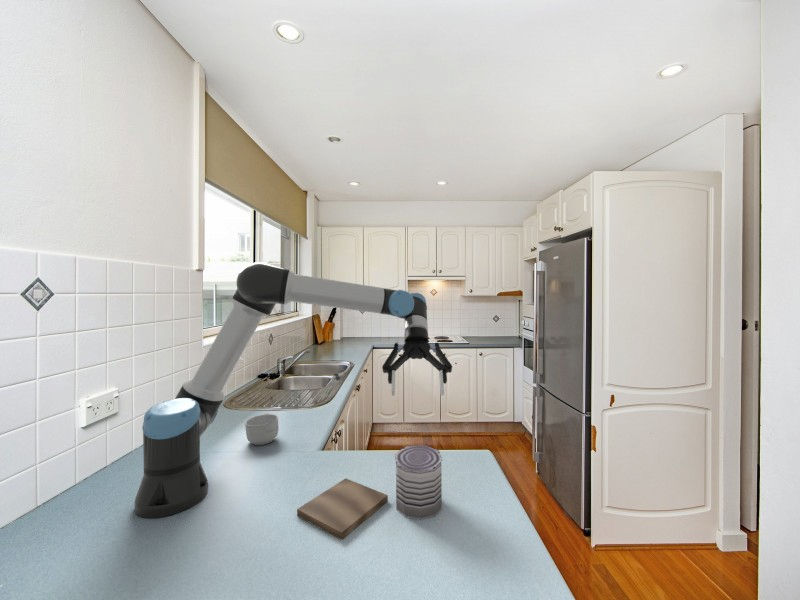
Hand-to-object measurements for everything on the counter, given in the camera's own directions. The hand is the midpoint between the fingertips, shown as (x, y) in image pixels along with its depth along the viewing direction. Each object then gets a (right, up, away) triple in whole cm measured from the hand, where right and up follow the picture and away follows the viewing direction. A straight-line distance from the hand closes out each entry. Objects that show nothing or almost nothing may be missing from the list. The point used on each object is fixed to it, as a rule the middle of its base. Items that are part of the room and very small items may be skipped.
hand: (417, 393), depth 93 cm
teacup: (-53, -24, +26) cm, 64 cm away
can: (0, -24, -12) cm, 27 cm away
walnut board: (-18, -24, -13) cm, 33 cm away
